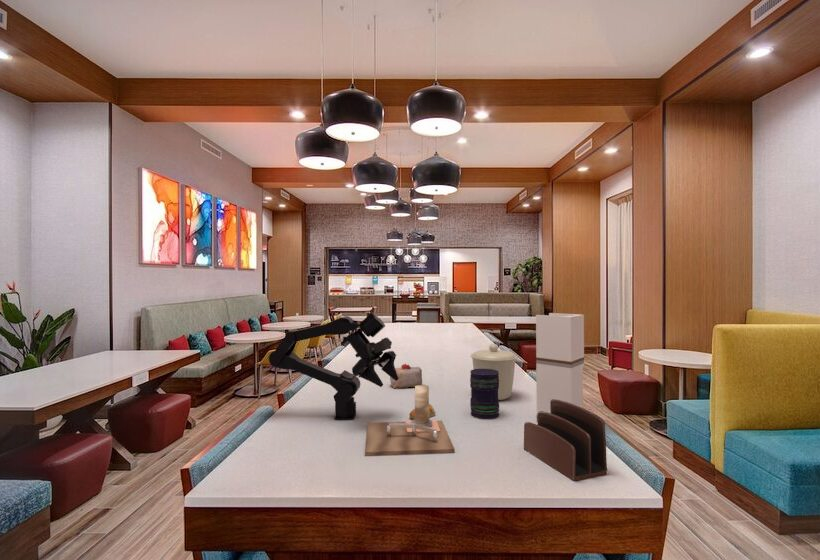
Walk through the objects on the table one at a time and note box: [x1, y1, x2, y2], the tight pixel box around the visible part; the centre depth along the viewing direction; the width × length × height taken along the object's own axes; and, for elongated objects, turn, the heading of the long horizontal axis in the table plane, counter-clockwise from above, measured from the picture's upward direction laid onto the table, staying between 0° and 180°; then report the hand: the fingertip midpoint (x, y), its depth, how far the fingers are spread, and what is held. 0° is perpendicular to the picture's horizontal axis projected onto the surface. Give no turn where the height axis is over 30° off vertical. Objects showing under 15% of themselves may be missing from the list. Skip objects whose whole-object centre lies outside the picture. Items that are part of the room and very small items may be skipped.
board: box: [364, 420, 455, 457], centre depth 123 cm, size 24×23×1 cm
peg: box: [412, 384, 433, 427], centre depth 130 cm, size 6×6×12 cm
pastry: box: [409, 403, 436, 420], centre depth 143 cm, size 9×7×4 cm
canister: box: [470, 343, 518, 401], centre depth 166 cm, size 18×18×21 cm
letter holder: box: [523, 399, 608, 482], centre depth 107 cm, size 10×20×14 cm, turn 20°
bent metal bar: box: [387, 423, 437, 443], centre depth 121 cm, size 15×4×4 cm, turn 71°
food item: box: [389, 363, 423, 389], centre depth 183 cm, size 14×8×10 cm, turn 101°
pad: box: [404, 419, 440, 433], centre depth 130 cm, size 10×10×1 cm
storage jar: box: [469, 368, 500, 420], centre depth 144 cm, size 10×10×15 cm
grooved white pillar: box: [535, 312, 585, 423], centre depth 136 cm, size 11×11×35 cm
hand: (390, 382), depth 136 cm, fingers open, 9 cm apart
